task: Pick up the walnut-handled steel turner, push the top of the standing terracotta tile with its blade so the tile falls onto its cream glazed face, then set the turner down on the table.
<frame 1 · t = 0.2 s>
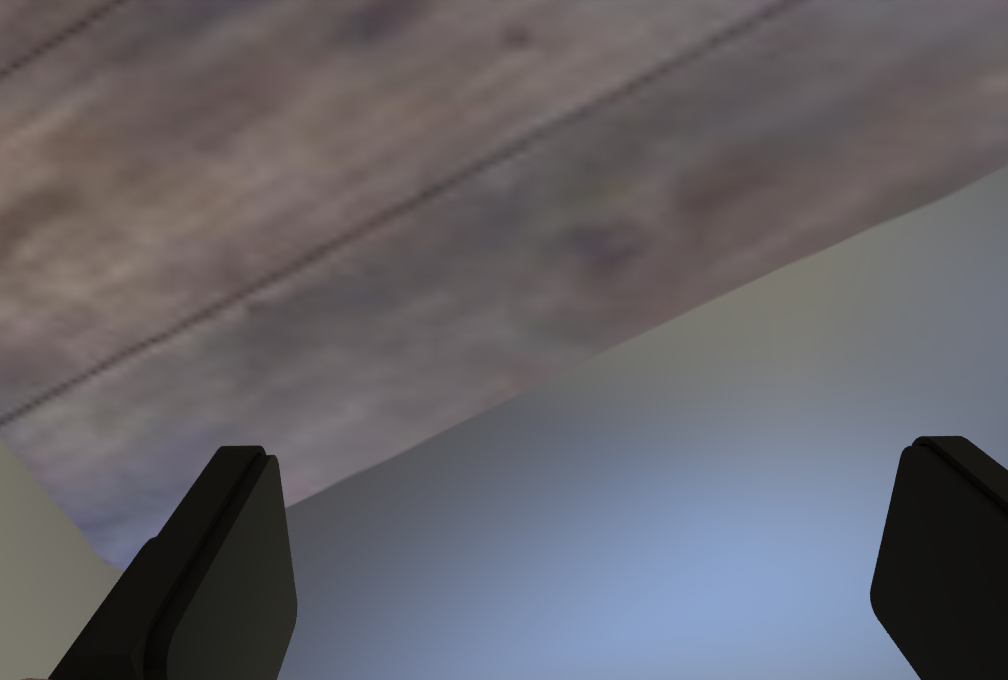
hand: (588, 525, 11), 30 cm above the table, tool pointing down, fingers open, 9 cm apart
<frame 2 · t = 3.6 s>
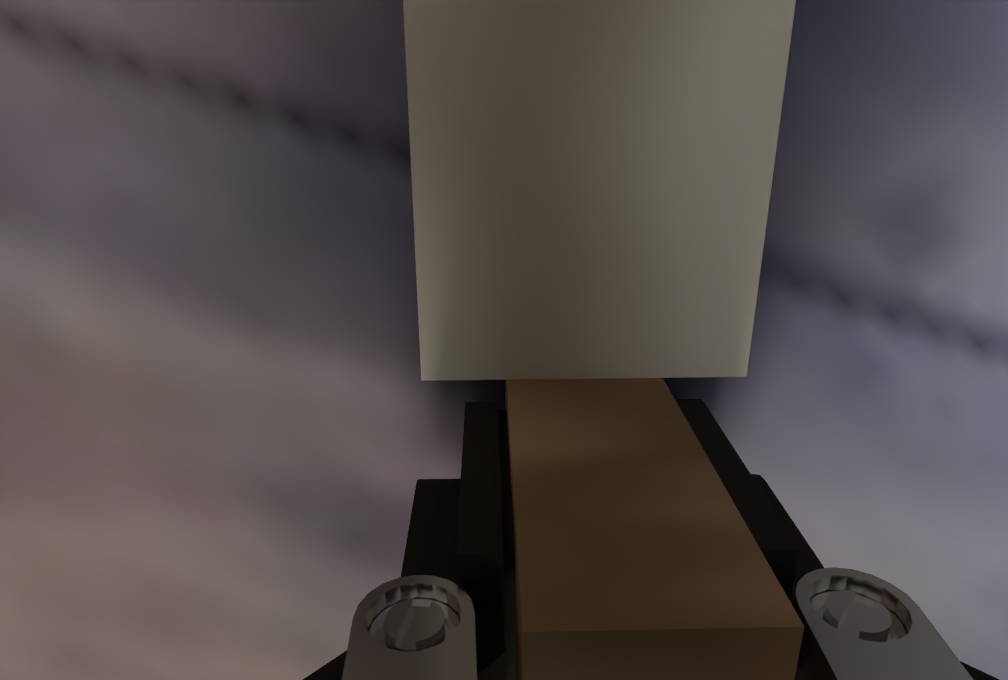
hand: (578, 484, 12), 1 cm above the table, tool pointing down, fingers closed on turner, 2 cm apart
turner: (574, 464, 12), on the table, touching gripper
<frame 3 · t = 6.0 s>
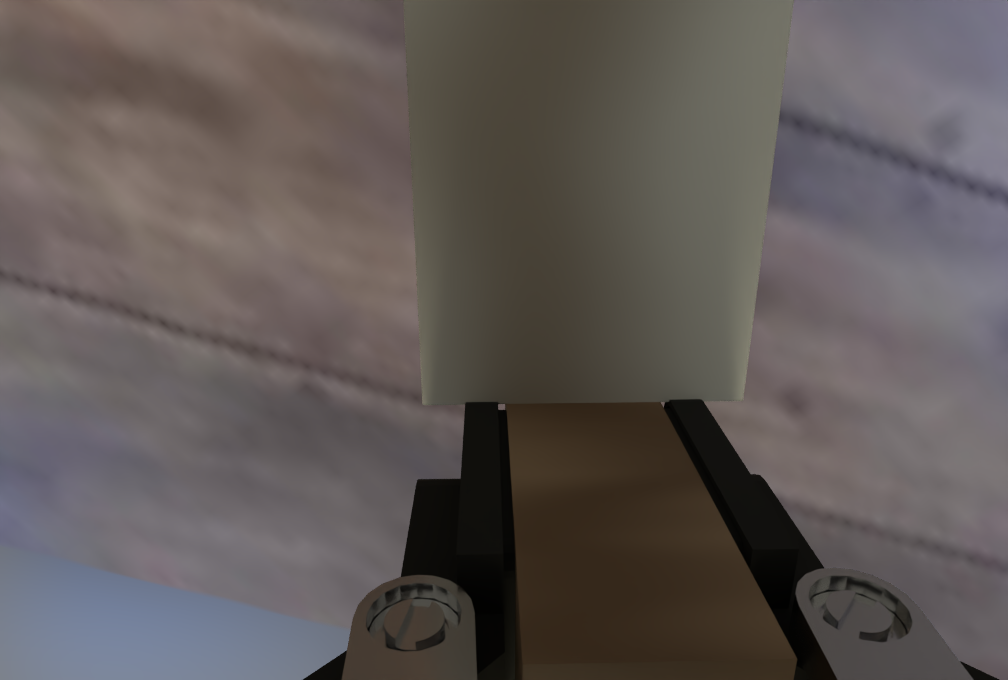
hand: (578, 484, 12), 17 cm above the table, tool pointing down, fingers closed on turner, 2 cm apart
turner: (573, 486, 12), point 17 cm above the table, touching gripper
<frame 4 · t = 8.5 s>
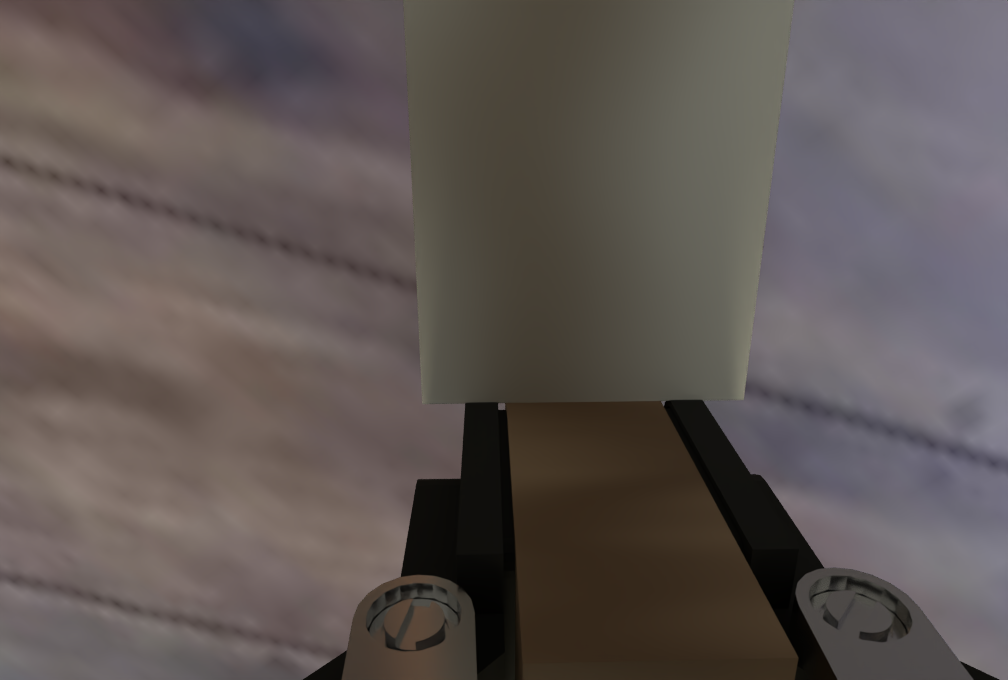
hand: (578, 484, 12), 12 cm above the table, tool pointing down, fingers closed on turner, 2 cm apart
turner: (573, 485, 12), point 11 cm above the table, touching gripper
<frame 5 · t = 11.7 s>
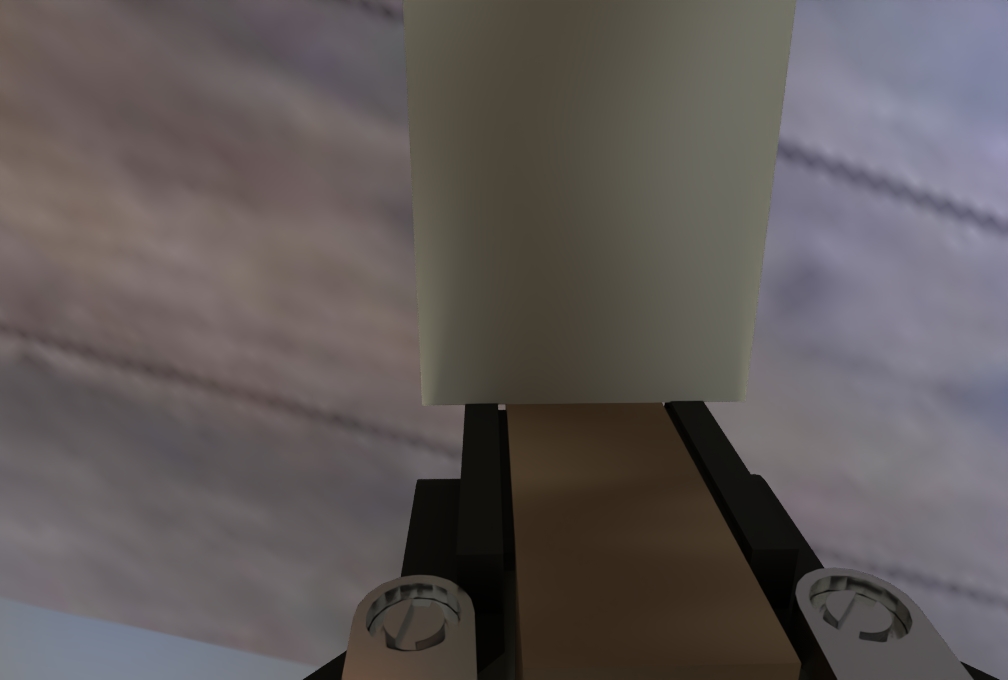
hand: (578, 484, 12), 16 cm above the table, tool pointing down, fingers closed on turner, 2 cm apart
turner: (574, 487, 12), point 15 cm above the table, touching gripper
when the fingers open (2 cm above the table, at t = 14.2 s): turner drops 2 cm, on the table.
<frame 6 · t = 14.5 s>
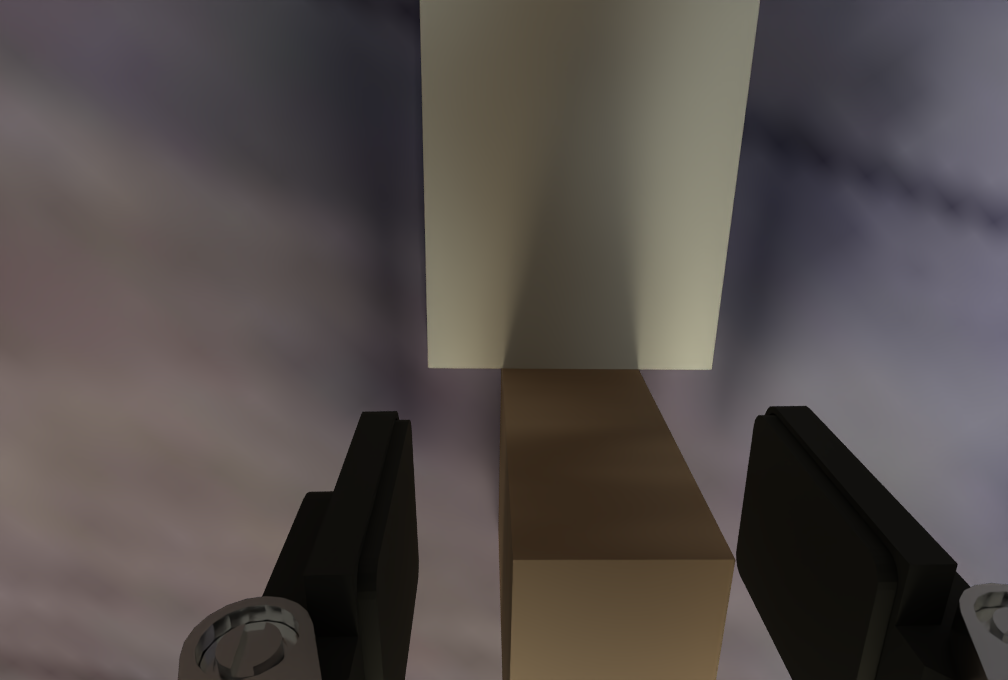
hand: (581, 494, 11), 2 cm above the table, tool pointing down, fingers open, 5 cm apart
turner: (560, 446, 14), on the table
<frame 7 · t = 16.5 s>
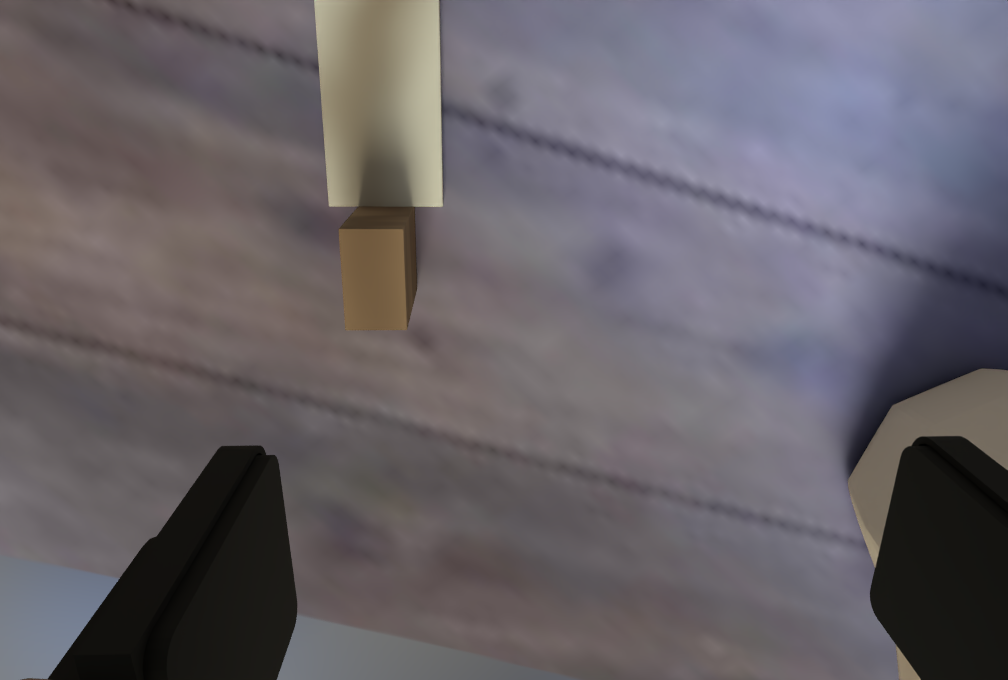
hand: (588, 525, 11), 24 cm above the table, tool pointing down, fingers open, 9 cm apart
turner: (389, 247, 33), on the table
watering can: (963, 445, 38), on the table
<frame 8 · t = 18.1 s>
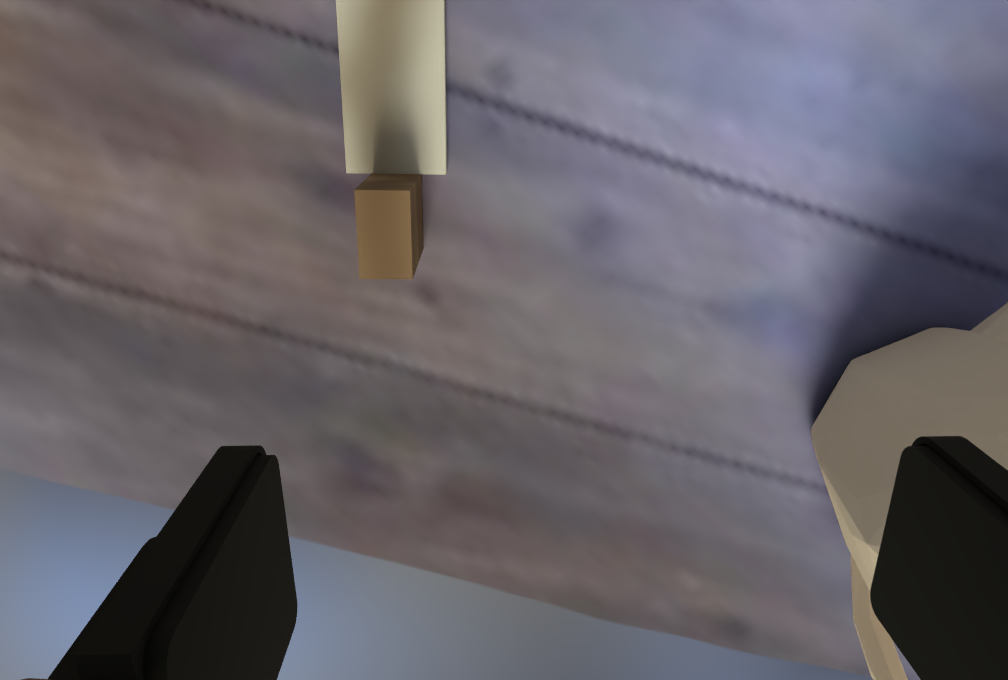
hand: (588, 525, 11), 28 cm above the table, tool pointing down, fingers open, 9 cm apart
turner: (399, 210, 37), on the table
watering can: (918, 399, 42), on the table
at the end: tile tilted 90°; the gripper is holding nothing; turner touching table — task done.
